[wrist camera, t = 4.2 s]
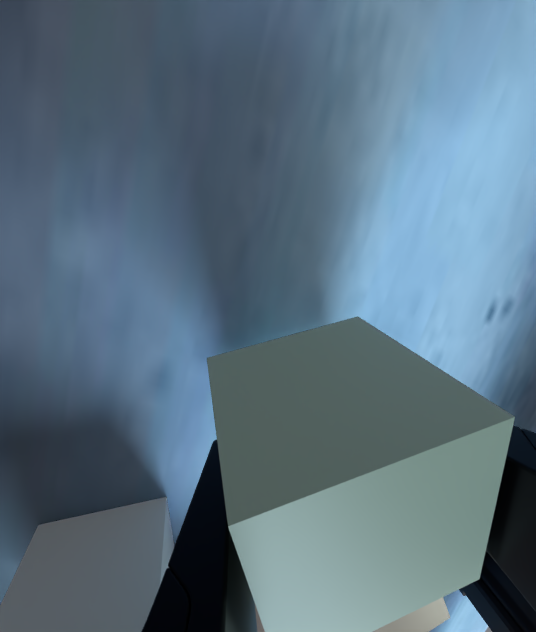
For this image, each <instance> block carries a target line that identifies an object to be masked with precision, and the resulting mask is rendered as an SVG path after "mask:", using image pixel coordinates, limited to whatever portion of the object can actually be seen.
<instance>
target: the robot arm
mask: <svg viewBox="0 0 536 632" xmlns="http://www.w3.org/2000/svg"><path fill="white" fill-rule="evenodd" d="M168 567H169V568H167V569H166V571H165V573H164V576H163V579H162V581H161V584H160V587H159V590H158V592H157V595H156V597H155V600H154V602H153V605H152V607H151V610H150V612H149V615H148V617H147V620H146V622H145V624H144V627H143V629H142V631H141V632H257V622H256V612H255V602H254V599H253V596H252V594H251V591H250V588H249V585H248V582H247V579H246V576H245V574H244V571H243V568H242V565H241V562H240V559H239V556H238V554H237V551H236V548H235V545H234V542H233V539H232V536H231V533H230V531H229V528H228V522H227V514H226V506H225V498H224V490H223V482H222V475H221V467H220V459H219V451H218V443H217V440H215V441H214V442H213V444H212V446H211V449H210V452H209V454H208V457H207V460H206V463H205V465H204V468H203V471H202V473H201V476H200V479H199V482H198V484H197V487H196V490H195V492H194V495H193V498H192V501H191V503H190V506H189V509H188V511H187V514H186V517H185V520H184V522H183V525H182V528H181V530H180V533H179V536H178V538H177V541H176V544H175V547H174V549H173V552H172V555H171V557H170V560H169V563H168ZM459 590H460V592H461V593H462V595H463V596H467V597H468V598H469V600H470V601H471V603H472V604H473V605H474V607H475V608H476V610H477V611H478V612H479V614H480V615H481V617H482V618H483V619H484V621H485V622H486V623H487V625H488V626H489V628H490V629H491V630H492V632H536V433H534V432H531V431H528V430H525V429H520V428H519V427H516V426H513V428H512V433H511V437H510V442H509V447H508V451H507V456H506V460H505V465H504V469H503V474H502V479H501V483H500V488H499V492H498V497H497V501H496V506H495V511H494V515H493V520H492V524H491V529H490V534H489V538H488V543H487V547H486V552H485V556H484V561H483V566H482V570H481V575H480V579H479V580H477V581H475V582H473V583H471V584H469V585H467V586H465V587H463V588H461V589H459Z"/></svg>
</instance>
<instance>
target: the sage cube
mask: <svg viewBox="0 0 536 632" xmlns="http://www.w3.org/2000/svg"><path fill="white" fill-rule="evenodd" d="M207 364H208V371H209V379H210V387H211V395H212V403H213V411H214V419H215V427H216V435H217V443H218V451H219V459H220V467H221V475H222V482H223V490H224V498H225V506H226V514H227V522H228V528H229V531H230V533H231V536H232V539H233V542H234V545H235V548H236V551H237V554H238V556H239V559H240V562H241V565H242V568H243V571H244V574H245V576H246V579H247V582H248V585H249V588H250V591H251V594H252V596H253V599H254V602H255V605H256V608H257V611H258V614H259V616H260V619H261V622H262V625H263V628H264V631H265V632H373V631H375V630H377V629H379V628H381V627H383V626H385V625H387V624H389V623H391V622H393V621H395V620H397V619H399V618H401V617H403V616H405V615H407V614H409V613H411V612H414V611H416V610H418V609H420V608H422V607H424V606H426V605H428V604H430V603H432V602H434V601H436V600H438V599H440V598H442V597H444V596H446V595H448V594H450V593H452V592H454V591H456V590H458V589H461V588H463V587H465V586H467V585H469V584H471V583H473V582H475V581H477V580H479V579H480V575H481V570H482V566H483V561H484V556H485V552H486V547H487V543H488V538H489V534H490V529H491V524H492V520H493V515H494V511H495V506H496V501H497V497H498V492H499V488H500V483H501V479H502V474H503V469H504V465H505V460H506V456H507V451H508V447H509V442H510V437H511V433H512V428H513V424H514V419H515V417H514V416H513V415H511V414H509V413H508V412H506V411H505V410H503V409H502V408H500V407H499V406H497V405H495V404H494V403H492V402H491V401H489V400H488V399H486V398H484V397H483V396H481V395H480V394H478V393H477V392H475V391H474V390H472V389H470V388H469V387H467V386H466V385H464V384H463V383H461V382H459V381H458V380H456V379H455V378H453V377H452V376H450V375H449V374H447V373H445V372H444V371H442V370H441V369H439V368H438V367H436V366H434V365H433V364H431V363H430V362H428V361H427V360H425V359H424V358H422V357H420V356H419V355H417V354H416V353H414V352H413V351H411V350H409V349H408V348H406V347H405V346H403V345H402V344H400V343H399V342H397V341H395V340H394V339H392V338H391V337H389V336H388V335H386V334H384V333H383V332H381V331H380V330H378V329H377V328H375V327H374V326H372V325H370V324H369V323H367V322H366V321H364V320H363V319H361V318H359V317H354V318H350V319H347V320H343V321H340V322H336V323H332V324H329V325H325V326H321V327H318V328H314V329H310V330H307V331H303V332H299V333H296V334H292V335H288V336H285V337H281V338H278V339H274V340H270V341H267V342H263V343H259V344H256V345H252V346H248V347H245V348H241V349H237V350H234V351H230V352H226V353H223V354H219V355H216V356H212V357H208V358H207Z"/></svg>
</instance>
